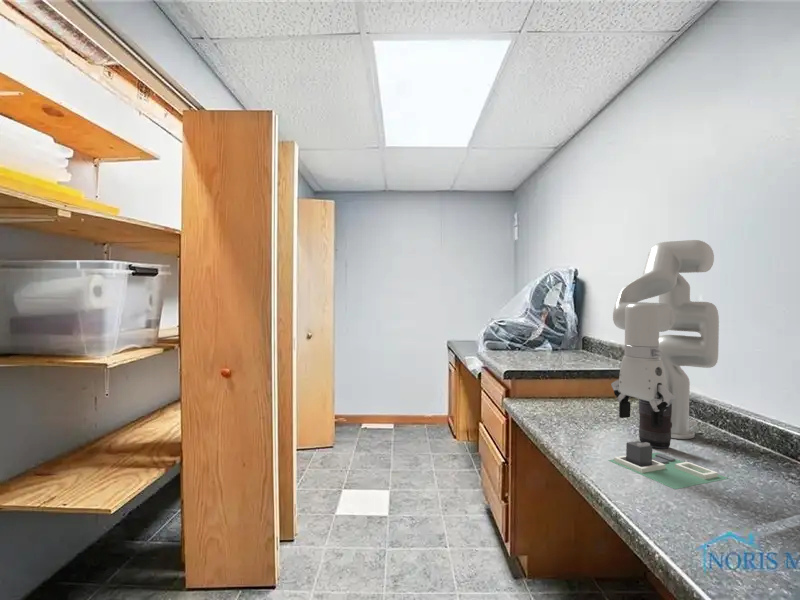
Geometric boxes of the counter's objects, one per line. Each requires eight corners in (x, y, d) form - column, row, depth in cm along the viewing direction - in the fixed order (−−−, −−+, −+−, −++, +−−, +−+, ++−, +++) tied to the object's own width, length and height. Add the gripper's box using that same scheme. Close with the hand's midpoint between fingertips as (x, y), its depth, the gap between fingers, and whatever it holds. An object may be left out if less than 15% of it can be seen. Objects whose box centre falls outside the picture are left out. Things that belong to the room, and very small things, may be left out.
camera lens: (643, 442, 130) (644, 392, 130) (674, 449, 124) (675, 397, 124) (634, 448, 124) (635, 396, 124) (666, 456, 119) (667, 401, 119)
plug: (637, 460, 111) (638, 438, 111) (651, 466, 107) (652, 443, 107) (626, 462, 110) (626, 440, 110) (639, 468, 106) (640, 445, 106)
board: (657, 456, 118) (657, 448, 118) (728, 483, 101) (729, 473, 101) (607, 464, 111) (607, 456, 111) (674, 494, 94) (675, 484, 94)
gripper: (685, 356, 102) (684, 430, 102) (623, 348, 118) (621, 412, 118) (663, 358, 99) (661, 434, 99) (602, 349, 115) (600, 414, 115)
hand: (640, 422), depth 108 cm, fingers open, 8 cm apart
